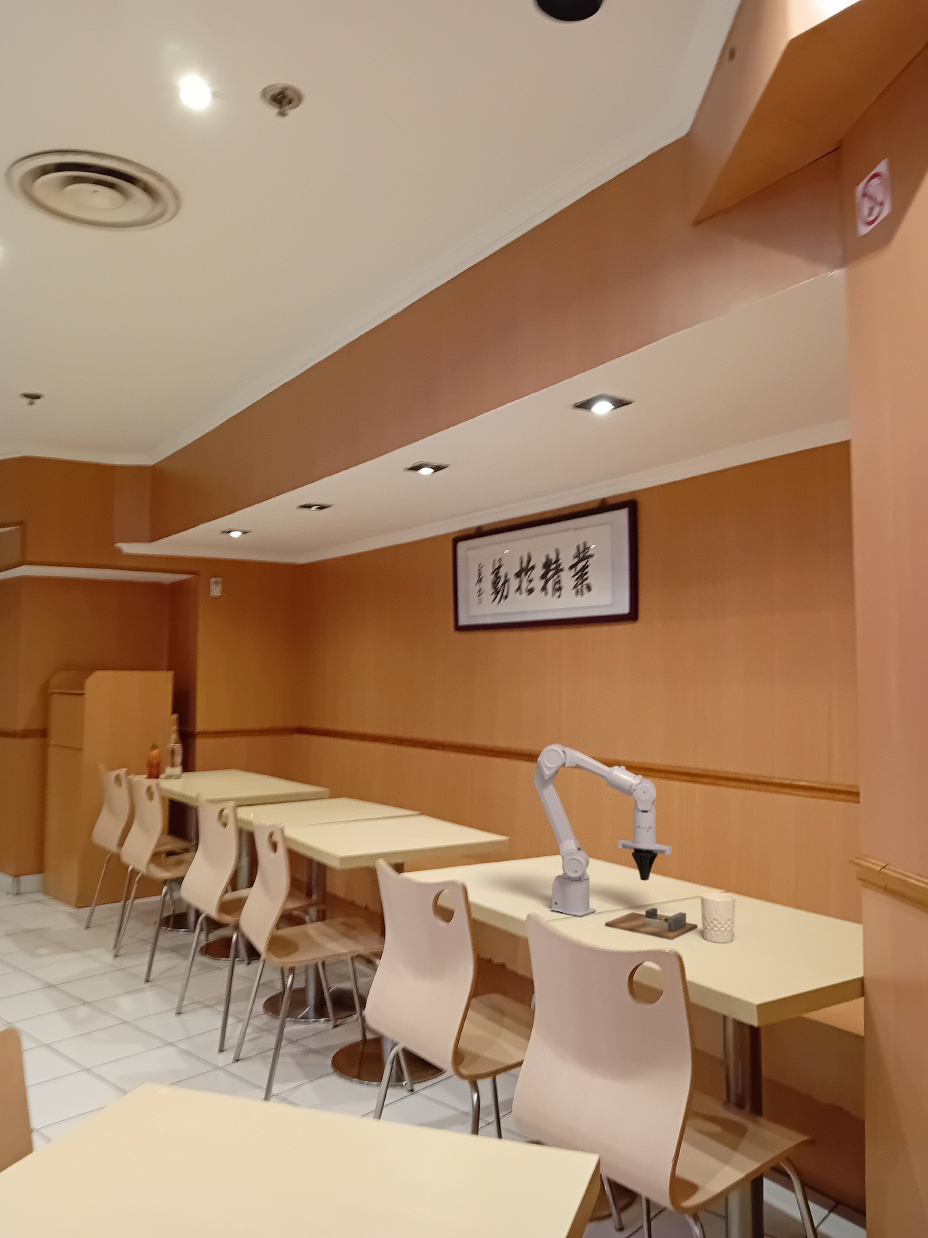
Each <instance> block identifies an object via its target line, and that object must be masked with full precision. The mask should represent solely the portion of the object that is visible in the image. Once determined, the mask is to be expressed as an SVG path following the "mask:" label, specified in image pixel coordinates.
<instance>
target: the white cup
mask: <svg viewBox="0 0 928 1238" xmlns="http://www.w3.org/2000/svg"><path fill="white" fill-rule="evenodd" d="M700 904H701V906H700V909H701V922H702V924H701V926H702V928H703V929H702V931H703V935H702V936H703V939H704V940H706V941H709V942H712V943H717V944H726V943H731V942H733V941H734V928H735V912H736V911H735V910H736V909H735V908H736V897H735V896H734V895H731V894H729V893H722V892H705V893H701V894H700Z"/></svg>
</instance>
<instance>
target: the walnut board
mask: <svg viewBox="0 0 928 1238" xmlns="http://www.w3.org/2000/svg"><path fill="white" fill-rule="evenodd" d="M604 926H605V927H609V928H613V929H618V930H623V931H629V932H632V933H637V934H642V935H647V936H651V937H655V938H656V937H657V938H662V939H666V940H671V941H673V940H675V939H677V938H679V937H680V936H683V935H686V934H687V933H690V932H692V931H693V930H696V929H697V928H698V924H696V923H690V922H686V927H684V928H682V929H680V930H677V931H675V932H670V931H665V930H660V929H655V928H650V927H645V913H637V912H633V911H632V912H630V913H629V912H628V914H625V915H621V916H619V917H616V918H614V919H611V920H608V921H606V922H605V923H604Z"/></svg>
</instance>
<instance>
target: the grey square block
mask: <svg viewBox="0 0 928 1238" xmlns="http://www.w3.org/2000/svg"><path fill="white" fill-rule="evenodd" d="M657 914H658V908H657V907H656V908H655V907H652V908H649V909H646V910H645V913H644V915H645V918H646V917H648V918H653V919H658V920H662V921H668V917H667V916H668V915H667V916H661V915H657Z"/></svg>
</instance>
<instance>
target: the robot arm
mask: <svg viewBox="0 0 928 1238" xmlns="http://www.w3.org/2000/svg"><path fill="white" fill-rule="evenodd" d="M563 766H564V767H565V768H571V767H572V768H573V767H578V768H580V769H582V770H584V771H587V772H589V773H592V774H594V775H596V776H598V777H600V778H603V779H604V780H605V783H606V785H607V786H608V787H610V788H613V789H614V790H616V791H618V792H620V793H622V794H624V795H627V796H633V799H634V808H633V840H626V839H625V840H623V839H621V840H618V841H617V843H618V844H617V846H618V849H621V850H622V849H625V850H633V852H631V856H632V858H633V859H634V862H635V865H636V867H637V870H638V874H639V879H640V881H645V882H646V881H648V880H649V879H650V875H651V871H652V867H653V866H654V862H655V860H656V859H657V857H658V854H659V855H661V854H662V855H665V856H671V855H672V854H673V847H672V846H670V845H669V846H668V845H664V844H659V843H657V810H656V800H655V799H656V796H657V788H656V786H655V784H654V783H653V782H652V781H651V780H650V779H648V778H643V775H641V774H638V775H636V774H635V773H632V772H631V771H629V770H627V769H626V766H624V765H621V766H618V765H614V766H611V767H609V766H607V765H605V764H603V763H602V762H599V761H597V760H595V759H593V758H592V757H590V756H588V755H586V754H584V753H583V752H580V751H578V750H576V749H573V748H571V747H567V746H566V747H565V746H564V745H562V744H560V743H553V744H550V745H548V746H546V747H545V748H544V749H543V750H542V751H541V753H540V754H539V756H538V758H537V763H536V769H535V774H534V777H533V778H534V779H533V781H534V786H535V788H536V791H537V794H538V796H539V798H540V801H541V804H542V806H543V809H544V811H545V814H546V816H547V818H548V819H547V820H548V821H549V823H550V826H551V827H550V828H551V829H552V832H553V834H554V837H555V839H556V842H557V845H558V849H559V854H560V857H561V860H562V864H561V865H562V866H561V869H562V872H563V873H562V874H559V875H556V876H555V877H554V878H553V881H552V886H551V908H550V909H551V910H556V911H560V912H563V913H562V914H565V913H566V914H567V915H571V916H577V917H583V916H586V915H588V914H591V913H594V912H596V910H597V909H596V908H592V907H590V875H589V874H588V872H587V869H588V867H589V866H590V865H589V864H590V859H589V855H588V854H587V852H586V851H584V850H583V849H582V847H581V845H580V842H579V841H578V839H577V838H576V835H575V834H574V830H573V828H572V826H571V823H570V821H569V818H568V815H567V813H566V811H565V808H564V805H563V804H562V801H561V798H560V796H559V793H558V791H557V789H556V785H555V782H554V781H555V779H556V778H557V775H558V772H559V771H560V769H562V768H563ZM551 910H550V911H551ZM560 912H559V913H560ZM566 914H565V915H566Z"/></svg>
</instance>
